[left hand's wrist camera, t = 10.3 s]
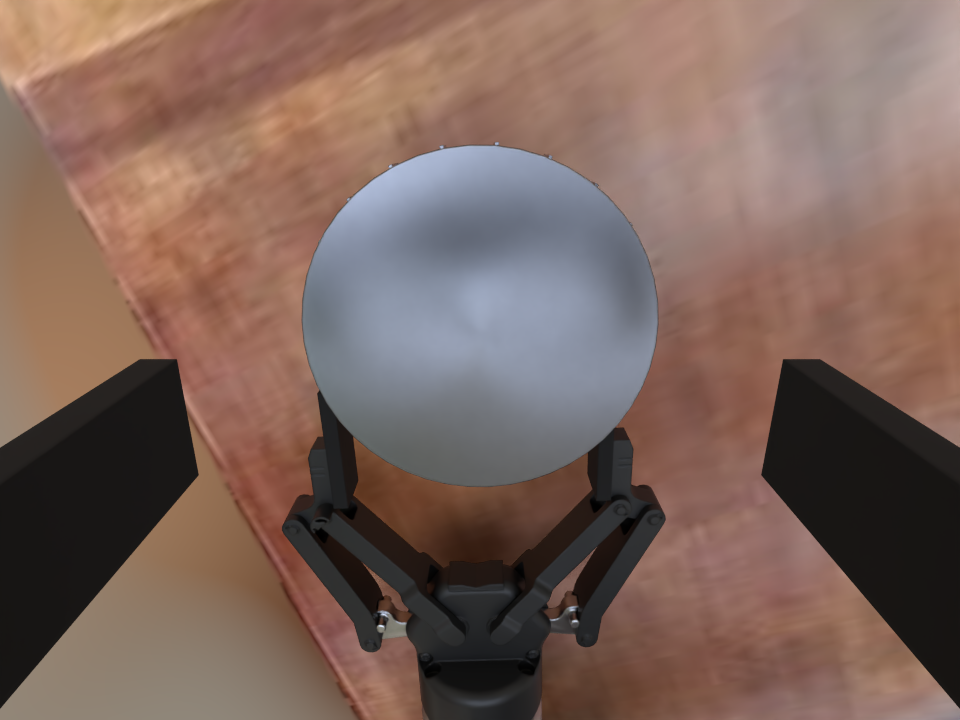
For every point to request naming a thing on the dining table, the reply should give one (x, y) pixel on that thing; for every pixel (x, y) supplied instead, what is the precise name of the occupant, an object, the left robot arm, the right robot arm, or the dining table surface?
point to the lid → (480, 315)
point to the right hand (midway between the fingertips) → (467, 377)
